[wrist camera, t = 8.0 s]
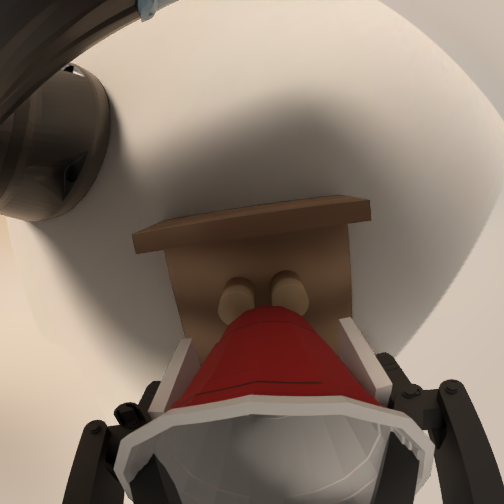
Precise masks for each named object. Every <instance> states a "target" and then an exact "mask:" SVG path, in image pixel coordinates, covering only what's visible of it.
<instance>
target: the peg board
mask: <svg viewBox="0 0 504 504" xmlns="http://www.w3.org/2000/svg"><path fill="white" fill-rule="evenodd" d="M363 221H371V208H370V200H367V199H362V198H356V197H350V196H344V195H335V196H326V197H317V198H309V199H301V200H293V201H285V202H278V203H271V204H264V205H257V206H250V207H243V208H236V209H230V210H224V211H217V212H211V213H205V214H199V215H193V216H187V217H182V218H176V219H170V220H165V221H162V222H160V223H157V224H155V225H153V226H150V227H148V228H146V229H143V230H141V231H139V232H137V233H134V234H132V238H133V243H134V247H135V252H136V254H140V253H146V252H153V251H159V250H164V252H165V257H166V261H167V266H168V270H169V274H170V279H171V283H172V287H173V291H174V295H175V299H176V303H177V307H178V311H179V315H180V319H181V322H182V326H183V330H184V333H185V337H186V338H192V339H193V343H194V346H195V350H196V353H197V357H198V360H199V363H200V367H201V366H202V364H203V362H204V361H205V359H206V358H207V356H208V355H209V353H210V352H211V350H212V349H213V347H214V345H215V344H216V343H218V342H219V341H220V339H221V337H222V335H223V334H224V332H225V330H226V328H227V326H228V325H229V324H230V323H232V322H233V321H234V320H235V319H236V318H238V317H239V316H240V315H241V314H243V313H244V312H245V311H248V310H251V309H254V308H257V307H260V306H282V307H284V308H287V309H289V310H291V311H294V312H296V313H298V314H299V315H301V316H302V317H303V318H304V319H305V320H306V321H307V322H308V323H309V324H310V325H311V326H312V327H313V328H314V329H315V331H316V332H317V333H318V335H319V336H320V337H321V338H322V339H323V340H324V341H325V342H326V343H327V344H328V345H329V346H330V347H331V349H332V350H333V351H334V352H335V354H336V355H337V356H338V357H339V319H342V318H348V317H351V318H352V295H351V269H350V251H349V237H348V223H356V222H363ZM339 358H340V357H339ZM340 360H341V359H340Z"/></svg>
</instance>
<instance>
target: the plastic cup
mask: <svg viewBox="0 0 504 504" xmlns="http://www.w3.org/2000/svg"><path fill="white" fill-rule="evenodd" d="M390 431H392V432H394V433H395V435H396V436H397V437H398V439H399V440H400V442H401V443H402V444H405V445H406V447H407V448H408V449H409V450H412V452H413V453H414V455H415V456H416V458H417V459H418V460H419V461H420V462H419V470H418V477H417V484H416V490H415V495H416V493H417V492H418V491H419V490H420V488H421V487H422V486H423V485H424V483H425V482H426V481H427V479H428V478H429V477H430V475H431V469H432V463H433V457H434V450H435V445H434V444H433V442H432V441H431V440H430V439H429V438H428V437H427V435H426V434H425V433H424V432H423V431H422V430H421V429H420V427H419V426H418V425H417V424H416V423H415V422H414V421H413V419H412V418H410V417H409V416H407V415H406V414H405V413H403V412H400V411H396V410H392V409H388V408H385V407H384V406H381V405H380V403H379V402H378V401H377V400H376V399H375V398H374V397H372V396H370V395H369V394H368V392H367V391H366V390H365V389H364V388H363V387H362V386H361V384H360V383H359V382H358V381H357V379H356V378H355V377H354V376H353V375H352V373H351V372H350V371H349V370H348V368H347V367H346V366H345V365H344V363H343V362H342V361H341V360H340V358H339V357H338V356H337V355H336V354H335V352H334V351H333V350H332V349H331V347H330V346H329V345H328V344H327V343H326V342H325V341H324V340H323V339H322V338H321V337H320V336H319V335H318V333H317V332H316V331H315V329H314V328H313V327H312V326H311V325H310V324H309V323H308V322H307V321H306V320H305V319H304V318H303V317H302V316H301V315H299V314H298V313H296V312H294V311H291V310H289V309H287V308H284V307H282V306H260V307H257V308H254V309H251V310H248V311H245V312H244V313H243V314H241V315H240V316H239V317H238V318H236V319H235V320H234V321H233V322H232V323H230V324H229V325H228V326H227V328H226V330H225V332H224V334H223V335H222V337H221V339H220V341H219V342H218V343H216V344H215V345H214V347H213V349H212V350H211V352H210V353H209V355H208V356H207V358H206V359H205V361H204V362H203V364H202V366H201V367H200V369H199V370H198V372H197V373H196V375H195V376H194V378H193V379H192V381H191V382H190V384H189V385H188V387H187V388H186V390H185V391H184V393H183V395H182V396H181V398H180V399H179V400H177V401H176V402H174V403H173V405H172V406H171V407H170V409H169V410H168V411H167V412H166V413H164V414H162V415H161V416H159V417H157V418H156V419H154V420H152V421H151V422H149V423H147V424H146V425H144V426H142V427H141V428H139V429H137V430H135V431H134V432H132V433H130V434H129V435H127V436H126V437H125V438H123V439H122V440H121V442H120V446H119V450H118V453H117V457H116V461H115V465H114V471H115V473H116V475H117V477H118V479H119V481H120V483H121V485H122V487H123V489H124V491H125V492H126V494H127V496H128V498H129V499H130V500H132V501H133V498H132V493H131V489H130V484H129V482H131V481H132V480H133V479H134V478H135V476H136V474H137V472H138V471H140V470H141V469H142V468H143V466H144V465H146V464H147V463H148V461H149V460H150V458H151V456H152V455H153V453H154V454H155V455H156V457H157V458H158V460H159V461H160V462H161V463H162V464H163V465H164V466H165V468H166V470H167V472H168V473H169V475H170V477H171V478H172V480H173V482H174V483H175V486H176V488H177V491H178V494H179V496H180V499H181V502H182V504H370V501H371V498H372V495H373V491H374V488H375V484H376V480H377V477H378V473H379V469H380V465H381V461H382V457H383V454H384V450H385V446H386V443H387V440H388V437H389V434H390ZM415 495H414V496H415Z"/></svg>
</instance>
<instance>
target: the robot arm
mask: <svg viewBox="0 0 504 504" xmlns="http://www.w3.org/2000/svg"><path fill="white" fill-rule="evenodd" d="M176 1H178V0H0V214H1V215H5V216H8V217H12V218H16V219H20V220H24V221H41V220H45V219H50V218H54V217H57V216H60V215H62V214H64V213H66V212H67V211H69V210H70V209H72V208H73V207H74V206H75V205H76V204H77V203H78V202H79V201H80V200H81V199H82V198H83V197H84V195H85V194H86V193H87V191H88V190H89V189H90V187H91V185H92V184H93V182H94V180H95V178H96V176H97V174H98V172H99V170H100V167H101V165H102V162H103V159H104V156H105V153H106V149H107V144H108V139H109V132H110V110H109V103H108V99H107V96H106V93H105V90H104V88H103V86H102V84H101V83H100V82H99V80H98V79H97V78H96V77H95V76H94V75H93V74H92V73H90V72H89V71H87V70H85V69H83V68H81V67H80V66H78V65H76V64H73V63H69V62H71V61H72V60H73V59H75V58H76V57H78V56H79V55H80V54H82V53H83V52H85V51H86V50H88V49H89V48H91V47H92V46H94V45H95V44H97V43H98V42H100V41H102V40H103V39H105V38H106V37H108V36H110V35H111V34H113V33H115V32H117V31H118V30H120V29H122V28H124V27H125V26H127V25H129V24H131V23H133V22H135V21H137V20H139V19H140V18H141V21H142V22H144V21H146V20H149V19H151V18H152V17H153V16H154V14H155V12H156V11H158V10H160V9H162V8H164V7H166V6H168V5H170V4H172V3H174V2H176ZM339 357H340V359H341V361H342V362H343V363H344V365H345V366H346V367H347V368H348V370H349V371H350V372H351V373H352V375H353V376H354V377H355V378H356V379H357V381H358V382H359V383H360V384H361V386H362V387H363V388H364V389H365V390H366V391H367V392H368V394H369V395H370V396H372V397H374V398H375V399H376V400H377V401H378V402H379V403H380V405H381V406H384V407H385V408H388V409H392V410H396V411H400V412H403V413H405V414H406V415H407V416H409V417H410V418H412V419H413V421H414V422H415V423H416V424H417V425H418V426H419V427H420V429H421V430H428V433H429V437H430V440H431V441H432V442H433V444H434V445H435V450H434V458H435V463H436V467H437V472H438V477H439V483H440V488H441V494H442V500H443V504H504V485H503V481H502V478H501V476H500V472H499V469H498V466H497V463H496V460H495V457H494V454H493V452H492V449H491V446H490V444H489V442H488V439H487V436H486V434H485V431H484V429H483V427H482V424H481V422H480V419H479V417H478V415H477V412H476V410H475V408H474V406H473V404H472V402H471V399H470V398H469V395H468V393H467V391H466V389H465V387H464V385H463V384H462V383H461V382H459V381H457V380H453V379H452V380H446V381H444V382H442V383H441V384H440V387H439V389H433V390H423V389H422V388H421V387H420V386H418V385H416V384H411V382H410V381H409V379H408V378H407V377H406V375H405V374H404V372H403V371H402V369H401V368H400V366H399V365H398V364H397V362H396V361H395V359H394V358H393V356H391V355H389V354H388V353H386V352H385V353H381V354H377V355H374V353H373V351H372V350H371V348H370V347H369V345H368V343H367V342H366V340H365V339H364V337H363V335H362V334H361V332H360V331H359V329H358V328H357V326H356V325H355V323H354V321H353V320H352V318H351V317H348V318H342V319H339ZM199 369H200V363H199V360H198V357H197V353H196V350H195V346H194V343H193V339H192V338H186V339H180V341H179V343H178V346H177V348H176V350H175V352H174V354H173V356H172V359H171V361H170V363H169V365H168V367H167V370H166V372H165V374H164V376H163V378H162V381H153V382H152V383H151V384H149V385H148V386H147V388H146V390H145V392H144V394H143V396H142V399H141V400H140V402H139V404H138V405H137V404H135V403H132V402H128V403H124V404H121V405H119V406H118V407H117V408H116V409H115V411H114V416H115V417H116V419H117V421H118V422H119V424H120V425H115V426H108V427H107V425H106V424H105V422H103V421H102V420H94V421H91V422H89V423H88V424H87V425H86V426H85V428H84V430H83V433H82V436H81V439H80V442H79V445H78V448H77V451H76V455H75V458H74V461H73V465H72V468H71V472H70V475H69V479H68V483H67V486H66V490H65V494H64V499H63V502H62V504H123V502H124V489H123V487H122V485H121V483H120V481H119V479H118V477H117V475H116V473H115V471H114V465H115V461H116V457H117V453H118V450H119V446H120V442H121V440H122V439H123V438H125V437H126V436H127V435H129V434H130V433H132V432H134V431H135V430H137V429H139V428H141V427H142V426H144V425H146V424H147V423H149V422H151V421H152V420H154V419H156V418H157V417H159V416H161V415H162V414H164V413H166V412H167V411H168V410H169V409H170V407H171V406H172V405H173V403H174V402H176V401H177V400H179V399H180V398H181V396H182V395H183V393H184V391H185V390H186V388H187V387H188V385H189V384H190V382H191V381H192V379H193V378H194V376H195V375H196V373H197V372H198V370H199ZM419 462H420V461H419V460H418V459H417V458H416V456H415V455H414V453H413V452H412V450H409V449H408V448H407V447H406V445H405V444H402V443H401V442H400V440H399V439H398V437H397V436H396V435H395V433H394V432H392V431H390V434H389V437H388V440H387V443H386V446H385V450H384V454H383V457H382V461H381V465H380V469H379V473H378V477H377V480H376V484H375V488H374V491H373V495H372V498H371V501H370V504H413V501H414V495H415V490H416V484H417V477H418V470H419ZM129 484H130V489H131V493H132V498H133V502H134V504H182V502H181V499H180V496H179V494H178V491H177V488H176V486H175V483H174V482H173V480H172V478H171V477H170V475H169V473H168V472H167V470H166V468H165V466H164V465H163V464H162V463H161V462H160V461H159V460H158V458H157V457H156V455H155V454H154V453H153V455H152V456H151V458H150V460H149V461H148V463H147V464H146V465H144V466H143V468H142V469H141V470H140V471H138V472H137V474H136V476H135V478H134V479H133V480H132V481H131V482H129Z"/></svg>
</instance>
